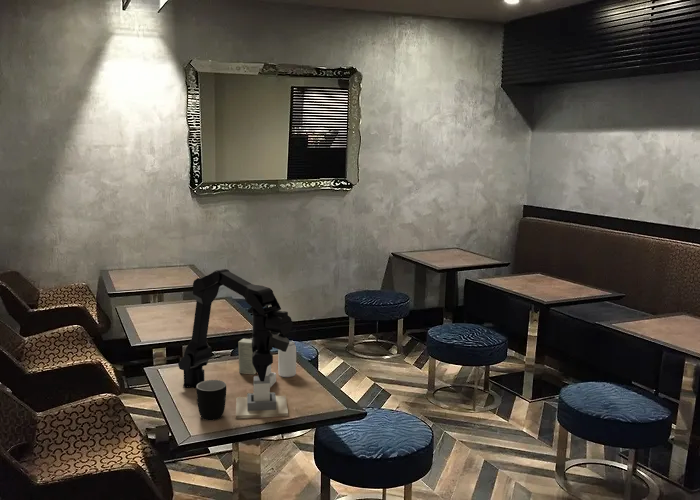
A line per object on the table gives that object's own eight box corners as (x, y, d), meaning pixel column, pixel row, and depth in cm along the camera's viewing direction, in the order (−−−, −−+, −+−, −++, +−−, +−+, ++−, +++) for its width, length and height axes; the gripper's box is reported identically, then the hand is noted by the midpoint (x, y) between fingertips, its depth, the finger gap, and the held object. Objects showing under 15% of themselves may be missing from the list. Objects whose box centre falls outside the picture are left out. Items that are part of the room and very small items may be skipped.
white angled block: (256, 383, 212) (261, 358, 215) (265, 388, 221) (269, 364, 224) (266, 384, 211) (271, 359, 214) (274, 389, 220) (278, 364, 223)
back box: (247, 410, 193) (247, 403, 193) (247, 400, 201) (247, 393, 200) (276, 409, 195) (276, 402, 194) (275, 399, 202) (275, 392, 202)
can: (299, 373, 229) (299, 342, 227) (288, 379, 223) (288, 347, 221) (285, 370, 232) (285, 339, 230) (274, 375, 227) (274, 343, 225)
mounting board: (235, 418, 190) (235, 415, 190) (236, 400, 203) (236, 397, 203) (288, 416, 192) (288, 413, 192) (285, 398, 206) (285, 395, 206)
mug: (230, 419, 189) (229, 387, 187) (200, 424, 185) (200, 392, 183) (219, 404, 200) (219, 374, 198) (191, 409, 195) (190, 379, 194)
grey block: (253, 408, 195) (253, 380, 194) (253, 402, 199) (253, 376, 198) (269, 407, 196) (269, 380, 195) (269, 402, 200) (269, 375, 199)
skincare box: (258, 371, 231) (258, 339, 229) (253, 375, 226) (253, 343, 224) (243, 369, 232) (243, 337, 230) (238, 373, 228) (237, 341, 226)
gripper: (289, 336, 186) (289, 385, 188) (285, 319, 204) (285, 365, 206) (252, 337, 184) (252, 387, 186) (251, 320, 202) (251, 366, 205)
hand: (261, 375), depth 196 cm, fingers open, 9 cm apart
